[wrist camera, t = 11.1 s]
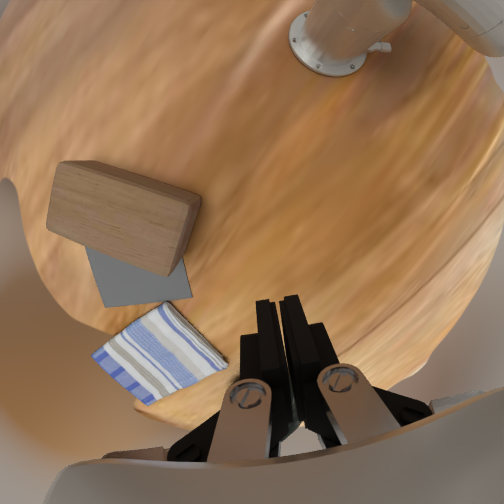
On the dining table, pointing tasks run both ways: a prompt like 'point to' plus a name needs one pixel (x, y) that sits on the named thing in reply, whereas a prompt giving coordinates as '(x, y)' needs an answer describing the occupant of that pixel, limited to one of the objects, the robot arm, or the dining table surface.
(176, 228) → the wooden block
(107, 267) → the mat
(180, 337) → the dish towel
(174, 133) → the dining table surface
